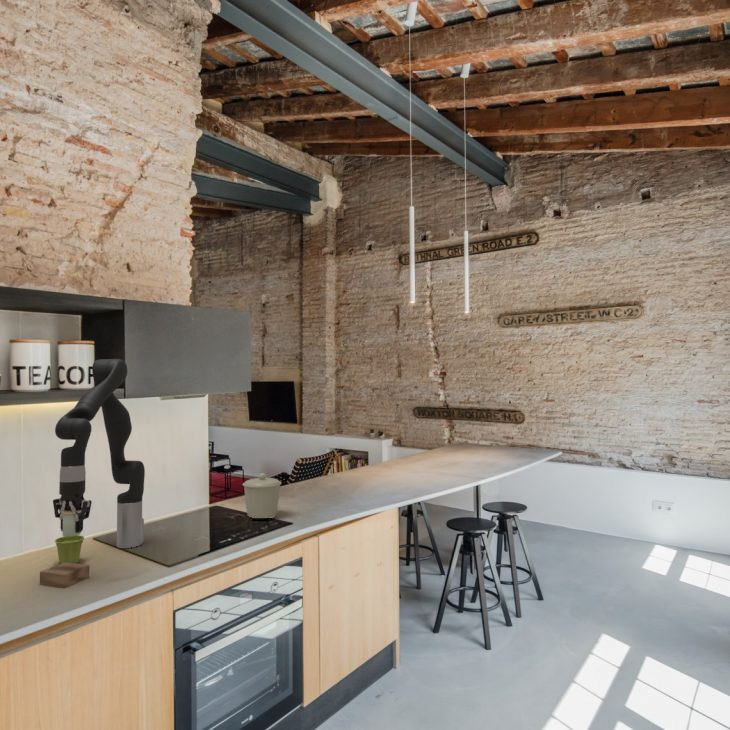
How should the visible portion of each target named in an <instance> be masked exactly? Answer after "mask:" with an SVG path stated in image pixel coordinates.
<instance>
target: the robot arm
mask: <svg viewBox="0 0 730 730" xmlns="http://www.w3.org/2000/svg"><path fill="white" fill-rule="evenodd" d="M91 373H92V378H93V381H94V384H95V385H94V387H93V388H91V389H89V390H88V391H87V392H85V393H84V394H83V395H82V396H81V397H80V398H79V400H78V402H77V403H76V405H75V406H74V407H73V408H72V409H70V410H69V411H68V412H66V413H65V414H64V415H63V416H62V417H60V418H59V420H58V421H57V422H56V425H55V429H54V433H55V436H56V437H57V438H58V439H60V440H63V441H64V440H65V441H67V440H68V441H71V440H72V441H73V440H75V442H74V443H73V445H72V446H68V447H64V448H63V449H62V450H60V451H61V453H60V469H59V483H58V484H59V487H58V488H59V489H58V490H59V491H58V493H59V495H60V498H55V499H53V500H52V505H53V512H54V517H55V518H56V519H57V518H58V519H59V520H60V531H61V533H63V511H65V510H66V511H69V510H70V511H72V512H73V515H75V519H76V521H75V532H76V533H79V532H81V533H82V531H83V530H84V520H86V519H89V517H90V514H91V513H90V512H91V508H92V503H93V502H92V500H90V499H89V500H86V499H85V497H84V494H85V492H86V473H87V472H86V465H85V464H86V450H87V446H88V443H89V440H90V437H91V433H92V424H91V421H92V420H93V419H94V418H95V417H96V415H97V413H98V412H99V410H100V408H101V411H102V416H103V423H104V427H105V432H106V436H107V443H108V446H109V447H108V448H109V454H110V464H111V473H112V475H111V476H112V479H113V480H114V482H115V483H116V484H118V485H129V487H128V490H126V491H124V492H121V493H120V494H117V497H116V547H117V548H119V549H130V548H131V547H132V548H136V546H137V547H140V546H141V545H142V544H143V543H145V539H144V538H145V519H144V517H143V495H144V491H145V476H146V473H145V472H146V471H145V465H144V463H143V462H142V461H140V460H126V457H125V448H126V444H127V442H128V440H129V438H130V436H131V434H132V429H133V428H132V425H133V424H132V421H131V416H130V412H129V410H128V409H127V408H126V407H125V405H124V404H123V403H122V402H121V401H120V400H119V398H117V397H116V395H115V394H114V392H115V391H116V390H117V389H118V387H120V386H121V385H122V384H123V382H124V381H125V380H126V378H127V375H128V365H127V363H126V361H124V359H121V358H107V359H105V358H104V359H96V360H94V362H93V363H92V367H91ZM76 510H80V511H76ZM78 513H80V517H79V515H78Z"/></svg>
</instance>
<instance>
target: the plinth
mask: <svg viewBox="0 0 730 730" xmlns="http://www.w3.org/2000/svg"><path fill="white" fill-rule="evenodd" d="M88 578H90V564H84V563H70V562H65V563H62V564H59V563H58V564H57V565H54V566H52V567H48V568H46V569H44V570H42V571H39V585H41V586H48V587H52V588H53V587H54V588H61V589H65V588H68V587H70V586H72V585H75V584H77V583H79V582H81V581H83V580H86V579H88Z"/></svg>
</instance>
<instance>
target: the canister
mask: <svg viewBox="0 0 730 730" xmlns="http://www.w3.org/2000/svg"><path fill="white" fill-rule="evenodd" d="M281 485H282V481H280V480H279V479H277V478H275V477H274V478H273V477H267V475H266V473H264V472H262V473H259V474H258V476H257V477H256V478H255V477H254V478H251V479H248V480H246V481H244V482H243V483H242V486H243V489H244V498H245V499H244V500H245V507H246V514H247V517H248V516H249V517H252V518H268V517H273V516H275V515H276V516H277V514H278V509H279V498H280V489H281V488H280V487H281ZM276 516H275V517H276ZM249 517H248V518H249Z"/></svg>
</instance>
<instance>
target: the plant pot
mask: <svg viewBox="0 0 730 730" xmlns="http://www.w3.org/2000/svg"><path fill="white" fill-rule="evenodd" d="M84 540H85V536H84V535H81V534H79V535H76V536H70V537H65V536H62V537H58V538H56V539H55V540H54V543H55V545H56V547H57V548H56V549H57V555H58V565H59V564H62V563H65V562H70V563H77V564H79V561H80V557H81V550H82V545H83V541H84Z"/></svg>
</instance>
